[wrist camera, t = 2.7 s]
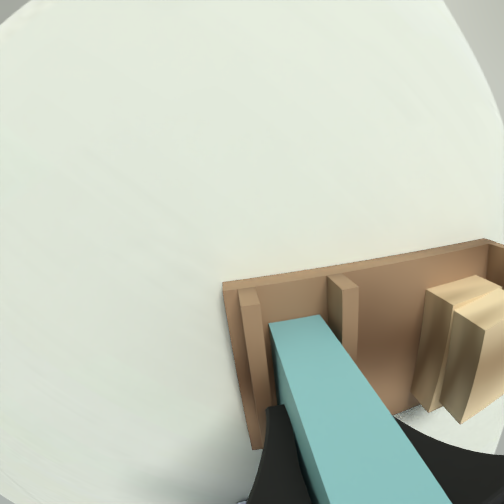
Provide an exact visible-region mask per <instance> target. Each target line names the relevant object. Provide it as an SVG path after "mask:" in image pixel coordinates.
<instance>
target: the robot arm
mask: <svg viewBox="0 0 504 504" xmlns="http://www.w3.org/2000/svg"><path fill="white" fill-rule="evenodd" d="M265 412H266V433H265V441H264V447H263V452H262V457H261V461H260V464H259V468H258V472H257V475H256V479H255V482H254V484H253V487H252V490H251V492H250V495H249V498H248V500H247V501H243V502H239V503H237V504H312V502H311V499H310V496H309V494H308V491H307V488H306V485H305V482H304V479H303V476H302V473H301V470H300V465H299V461H298V456H297V450H296V444H295V439H294V433H293V428H292V424H291V421H290V418H289V415H288V413H287V410H286V407H285V405H284V404H282V405H276V406H271V407H267V408H266V409H265ZM393 418H394V419H395V420H396V422H397V423H398V425H399V426H400V428H401V429H402V431H403V432H404V433H405V435H406V436H407V438H408V439H409V441H410V442H411V444H412V445H413V446H414V448H415V449H416V451H417V452H418V454H419V455H420V457H421V458H422V460H423V461H424V462H425V464H426V465H427V467H428V468H429V470H430V471H431V473H432V474H433V476H434V477H435V479H436V480H437V482H438V483H439V485H440V486H441V488H442V489H443V491H444V492H445V494H446V495H447V497H448V498H449V500H450V501H451V503H452V504H504V455H493V454H486V453H480V452H474V451H470V450H466V449H463V448H459V447H456V446H452V445H449V444H446V443H444V442H441V441H438V440H436V439H434V438H431V437H429V436H427V435H425V434H423V433H421V432H419V431H417V430H415V429H413V428H412V427H410V426H408V425H406V424H405V423H403V422H402V421H400V420H398V419H397V418H395V417H394V416H393Z"/></svg>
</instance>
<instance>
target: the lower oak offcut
mask: <svg viewBox="0 0 504 504" xmlns="http://www.w3.org/2000/svg"><path fill="white" fill-rule="evenodd" d="M497 288H500V289H502V287H501V286H499V285H497V284H495V283H493V282H490V281H488V280H486V279H484V278H482V277H479V276H477V275H474V276H471V277H467V278H464V279H461V280H457V281H454V282H450V283H447V284H443V285H440V286H436V287H432V288H429V289H426V295H425V305H424V314H423V322H422V330H421V337H420V343H419V349H418V355H417V361H416V366H415V371H414V376H413V381H412V385H411V390H410V392H411V393H412V394H413V396H414V397H415V398H416V399H417V400H418V401H419V403H420V404H421V405H422V406H423V407H424V409H425V410H426V411H427V412H428V413H429V412H432V411H434V410H436V409H438V408H440V407H442V406H443V405H442V404H441V403H440V402H439V399H440V395H441V390H442V386H443V381H444V376H445V371H446V365H447V359H448V353H449V347H450V339H451V332H452V323H453V313H454V310H456V309H458V308H460V307H462V306H464V305H466V304H468V303H470V302H472V301H474V300H476V299H478V298H480V297H482V296H484V295H486V294H488V293H490V292H492V291H493V290H495V289H497Z"/></svg>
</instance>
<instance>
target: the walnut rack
mask: <svg viewBox="0 0 504 504" xmlns="http://www.w3.org/2000/svg"><path fill="white" fill-rule="evenodd" d="M474 275H477V276H479V277H482V278H484V279H486V280H488V281H490V282H493V283H495V284H497V285H499V286H501V287H502V290H504V245H503V244H499V243H496V242H494V241H491V240H488V239H484V238H483V239H478V240H473V241H468V242H463V243H458V244H453V245H448V246H443V247H437V248H432V249H427V250H421V251H416V252H410V253H405V254H399V255H394V256H388V257H382V258H376V259H371V260H365V261H359V262H353V263H347V264H341V265H335V266H329V267H322V268H316V269H310V270H303V271H297V272H290V273H284V274H277V275H270V276H263V277H257V278H250V279H243V280H236V281H228V282H223V296H224V303H225V309H226V315H227V321H228V326H229V332H230V338H231V344H232V349H233V355H234V360H235V366H236V371H237V376H238V382H239V387H240V392H241V397H242V402H243V407H244V412H245V417H246V422H247V427H248V432H249V437H250V442H251V446H252V450H257V449H263V447H264V441H265V433H266V412H265V409H266V408H267V407H271V406H276V405H277V398H276V389H275V379H274V370H273V360H272V351H271V342H270V333H269V324H268V323H274V322H280V321H286V320H291V319H297V318H303V317H308V316H314V315H319V314H320V316H321V317H322V318H323V320H324V321H325V323H326V324H327V325H328V327H329V328H330V329H331V331H332V332H333V334H334V335H335V336H336V338H337V339H338V340H339V342H340V343H341V345H342V346H343V347H344V349H345V350H346V351H347V353H348V354H349V356H350V357H351V358H352V360H353V361H354V363H355V364H356V365H357V367H358V368H359V370H360V371H361V372H362V374H363V375H364V377H365V378H366V379H367V381H368V382H369V384H370V385H371V386H372V388H373V389H374V391H375V392H376V393H377V395H378V396H379V398H380V399H381V401H382V402H383V403H384V405H385V406H386V408H387V409H388V410H389V412H390V413H391V415H395V414H397V413H400V412H402V411H405V410H407V409H410V408H412V407H415V406H417V405H420V403H419V401H418V400H417V399H416V398H415V397H414V396H413V394H412V393H411V392H410V390H411V385H412V381H413V376H414V371H415V366H416V361H417V355H418V349H419V343H420V337H421V330H422V322H423V314H424V305H425V295H426V289H429V288H432V287H436V286H440V285H443V284H447V283H450V282H454V281H457V280H461V279H464V278H467V277H471V276H474Z"/></svg>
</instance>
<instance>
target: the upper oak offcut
mask: <svg viewBox="0 0 504 504" xmlns="http://www.w3.org/2000/svg"><path fill="white" fill-rule="evenodd" d="M503 394H504V290H502V289H500V288H497V289H495V290H493V291H492V292H490V293H488V294H486V295H484V296H482V297H480V298H478V299H476V300H474V301H472V302H470V303H468V304H466V305H464V306H462V307H460V308H458V309H456V310H454V313H453V323H452V332H451V339H450V347H449V353H448V359H447V365H446V371H445V376H444V381H443V386H442V390H441V395H440V399H439V402H440V403H441V404H442V405H443V406H444V407H445V409H446V410H447V411H448V412H449V413H450V414H451V415H452V416H453V417H454V418H455V420H456V421H457V422H458V423H459V424H462V423H463V422H465V421H467V420H468V419H470V418H471V417H473V416H474V415H476V414H477V413H478V412H480V411H481V410H483V409H484V408H486V407H487V406H488V405H490V404H491V403H492V402H494V401H495V400H496V399H498V398H499V397H500V396H502V395H503Z"/></svg>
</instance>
